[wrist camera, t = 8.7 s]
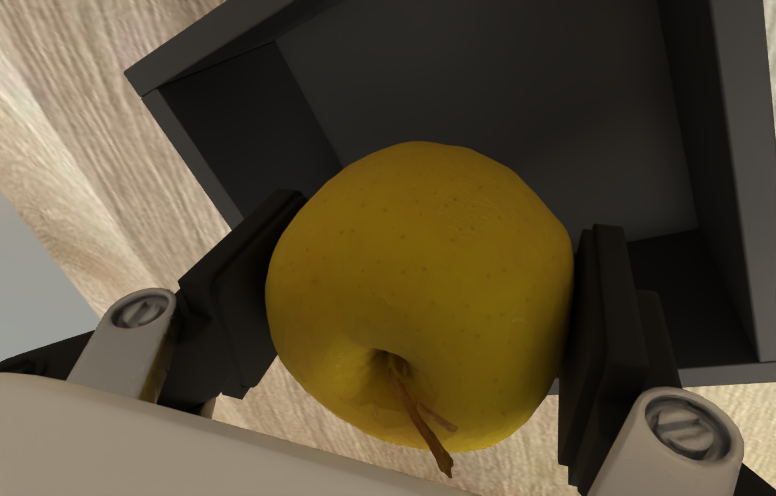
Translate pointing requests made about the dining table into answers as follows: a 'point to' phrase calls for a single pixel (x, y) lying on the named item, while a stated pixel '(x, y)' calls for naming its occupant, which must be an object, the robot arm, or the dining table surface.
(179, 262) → the dining table surface
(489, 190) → the apple
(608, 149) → the bin
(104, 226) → the dining table surface
